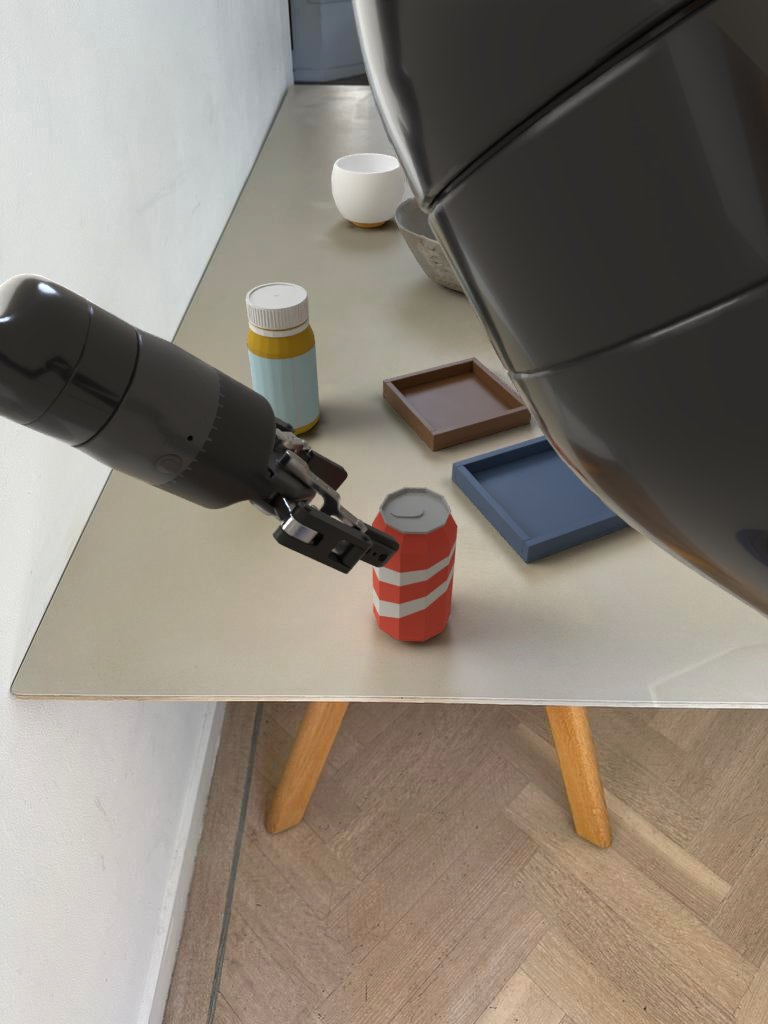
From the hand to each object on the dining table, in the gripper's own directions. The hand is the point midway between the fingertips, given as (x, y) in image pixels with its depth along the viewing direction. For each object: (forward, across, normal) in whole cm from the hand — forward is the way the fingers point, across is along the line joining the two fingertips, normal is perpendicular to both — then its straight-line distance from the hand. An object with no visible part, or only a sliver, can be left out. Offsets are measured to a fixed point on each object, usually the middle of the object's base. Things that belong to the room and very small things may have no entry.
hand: (362, 516), depth 54 cm
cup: (+37, +84, -19) cm, 94 cm away
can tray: (+26, +8, -7) cm, 28 cm away
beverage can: (+12, 0, +6) cm, 14 cm away
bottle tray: (+26, +26, -7) cm, 37 cm away
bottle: (+13, +32, +6) cm, 35 cm away
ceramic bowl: (+39, +55, -21) cm, 71 cm away
